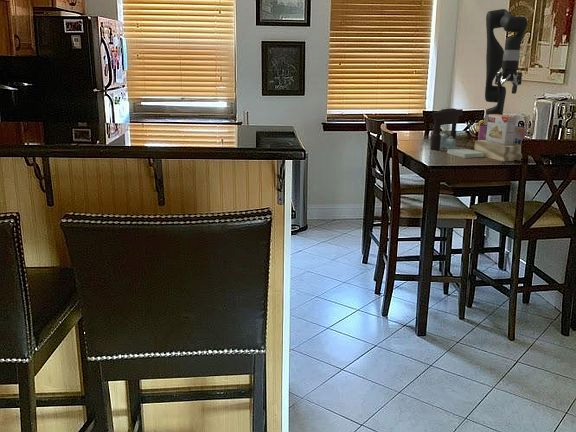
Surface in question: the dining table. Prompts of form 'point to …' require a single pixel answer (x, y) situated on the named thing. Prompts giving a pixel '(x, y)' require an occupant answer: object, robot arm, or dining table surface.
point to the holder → (499, 150)
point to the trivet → (465, 153)
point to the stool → (442, 119)
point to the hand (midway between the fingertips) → (506, 93)
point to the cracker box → (501, 129)
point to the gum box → (518, 133)
